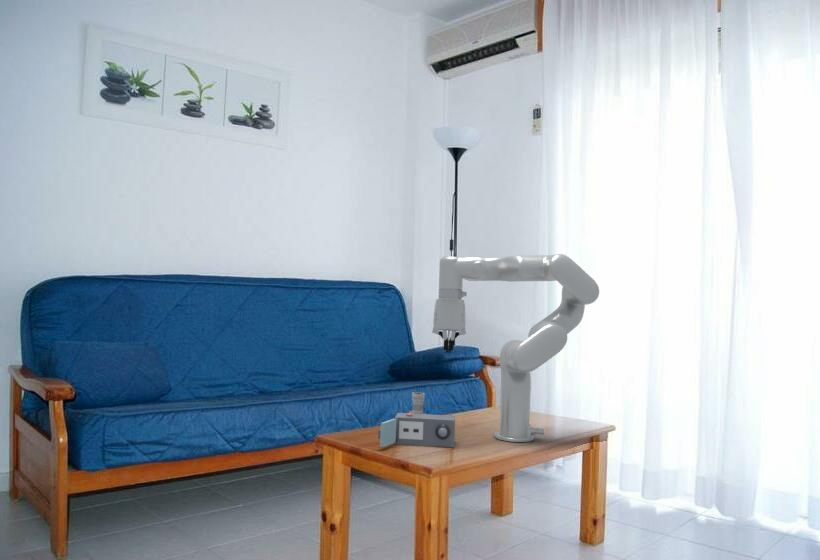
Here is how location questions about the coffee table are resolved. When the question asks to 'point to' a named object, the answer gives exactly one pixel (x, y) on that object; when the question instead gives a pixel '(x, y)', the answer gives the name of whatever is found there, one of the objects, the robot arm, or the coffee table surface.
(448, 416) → the housing
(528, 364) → the robot arm
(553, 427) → the coffee table surface
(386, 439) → the side door
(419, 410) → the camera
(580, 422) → the coffee table surface
